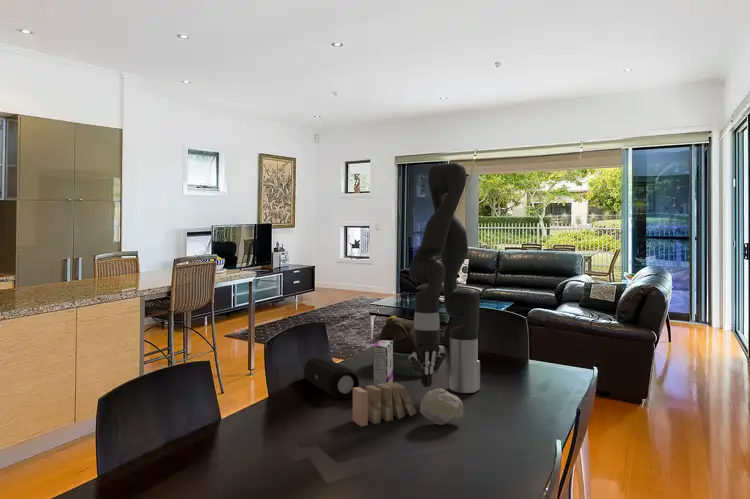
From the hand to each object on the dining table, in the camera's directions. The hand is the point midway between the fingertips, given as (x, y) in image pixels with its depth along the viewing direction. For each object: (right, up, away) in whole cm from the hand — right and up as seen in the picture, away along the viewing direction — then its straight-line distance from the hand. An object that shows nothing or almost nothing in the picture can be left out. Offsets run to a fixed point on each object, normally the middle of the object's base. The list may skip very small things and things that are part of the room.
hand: (426, 386), depth 143 cm
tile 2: (-9, -7, -5) cm, 12 cm away
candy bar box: (-12, -7, +18) cm, 23 cm away
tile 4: (-16, -7, -9) cm, 19 cm away
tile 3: (-12, -7, -7) cm, 16 cm away
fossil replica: (+3, -7, -13) cm, 15 cm away
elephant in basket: (-3, -8, +44) cm, 44 cm away
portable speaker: (-30, -8, +20) cm, 37 cm away
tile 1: (-5, -7, -3) cm, 9 cm away
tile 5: (-19, -7, -11) cm, 23 cm away
